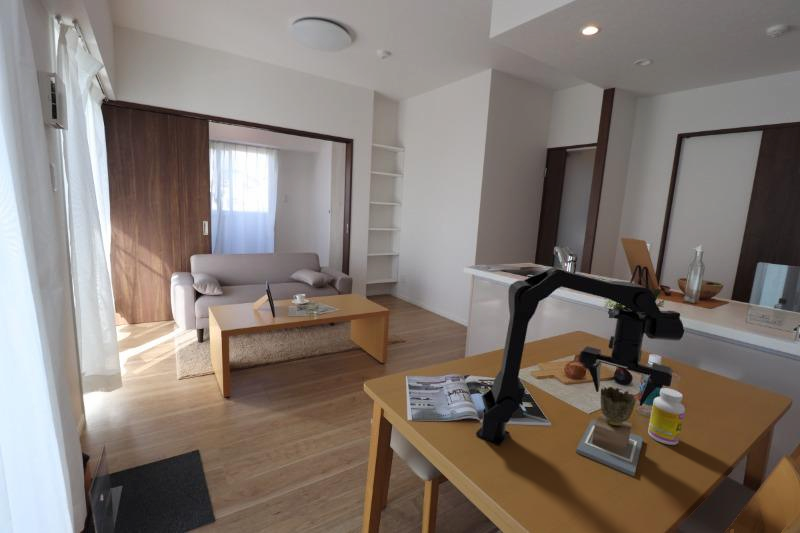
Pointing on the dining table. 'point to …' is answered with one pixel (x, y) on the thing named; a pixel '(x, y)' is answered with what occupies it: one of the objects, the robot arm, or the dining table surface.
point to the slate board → (611, 452)
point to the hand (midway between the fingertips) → (618, 398)
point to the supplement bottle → (667, 417)
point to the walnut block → (611, 435)
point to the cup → (616, 406)
